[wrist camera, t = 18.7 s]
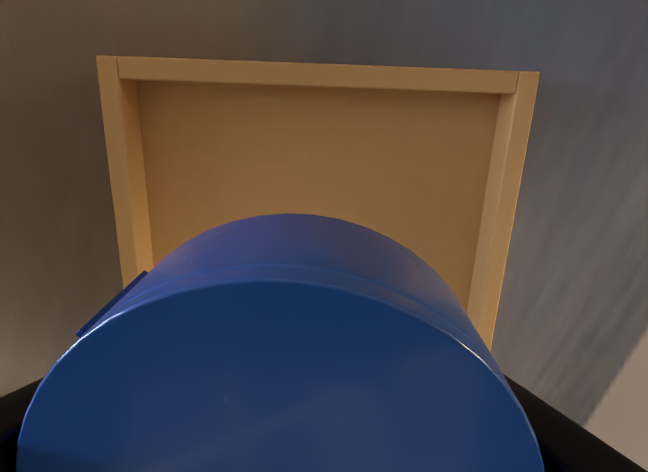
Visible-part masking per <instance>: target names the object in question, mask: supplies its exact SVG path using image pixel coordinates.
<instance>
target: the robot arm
mask: <svg viewBox="0 0 648 472" xmlns="http://www.w3.org/2000/svg"><path fill="white" fill-rule="evenodd" d="M502 374H503V373H502ZM503 375H504V374H503ZM504 377H505V379H506V380H507V382H508V384H509V385H510V388H511V389H512V391H513V392H514V394H515V395H516V397H517V399H518V401H519V402H520V404H521V406H522V407H523V409H524V411H525V413H526V416H527V418H528V420H529V422H530V424H531V426H532V428H533V430H534V433H535V435H536V437H537V441H538V445H539V448H540V452H541V456H542V459H543V463H544V471H545V472H648V471H646V470H645V469H643V468H641V467H640V466H638V465H637V464H636V463H634V462H633V461H631V460H630V459H628V458H627V457H625V456H624V455H622V454H621V453H619V452H618V451H616V450H615V449H614V448H612V447H610V446H609V445H608V444H606V443H605V442H603V441H602V440H600V439H599V438H597V437H596V436H594V435H593V434H591V433H590V432H588V431H587V430H585V429H584V428H582V427H581V426H579V425H578V424H577V423H575V422H574V421H572V420H571V419H569V418H568V417H566V416H565V415H563V414H562V413H560V412H559V411H557V410H556V409H554V408H553V407H551V406H550V405H548V404H547V403H545V402H544V401H542V400H541V399H540V398H538V397H537V396H535V395H534V394H532V393H531V392H529V391H528V390H526V389H525V388H523V387H522V386H520V385H519V384H517V383H516V382H514V381H513V380H511V379H510V378H508V377H507V376H506V375H504ZM43 379H44V378H41V379H39V380H37V381H35V382H33V383H31V384H29V385H27V386H24V387H22V388H20V389H18V390H16V391H14V392H12V393H9V394H7V395H5V396H3V397H1V398H0V472H16V470H15V464H16V454H17V443H18V438H19V434H20V431H21V427H22V424H23V420H24V417H25V413H26V410H27V408H28V406H29V404H30V402H31V400H32V398H33V396H34V394H35V392H36V390H37V388H38V386H39V384H40V383H41V381H42V380H43Z"/></svg>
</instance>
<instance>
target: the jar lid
mask: <svg viewBox="0 0 648 472" xmlns="http://www.w3.org/2000/svg"><path fill="white" fill-rule="evenodd" d="M76 335H77V336H78V337H79V339H78V340H77V341H76V342H75V343H74V344H73V345H72V346H71V347H70V348H69V349H68V350H67V351H66V352H65V353H64V354H63V355H62V356H61V357H60V358H59V359H58V360H57V361H56V362H55V363H54V365H53V366H52V368H51V369H50V370H49V372H48V373H47V374H46V376H45V377H44V379H43V380H42V381H41V383H40V384H39V386H38V388H37V390H36V392H35V394H34V396H33V398H32V400H31V402H30V404H29V406H28V408H27V410H26V413H25V417H24V420H23V424H22V427H21V431H20V434H19V438H18V443H17V454H16V464H15V470H16V472H545V471H544V463H543V459H542V456H541V452H540V448H539V445H538V441H537V437H536V435H535V433H534V430H533V428H532V426H531V424H530V422H529V420H528V418H527V416H526V413H525V411H524V409H523V407H522V406H521V404H520V402H519V401H518V399H517V397H516V395H515V394H514V392H513V391H512V389H511V388H510V385H509V384H508V382H507V380H506V379H505V377H504V375H503V374H502V372H501V370H500V368H499V367H498V365H497V363H496V362H495V360H494V358H493V357H492V355H491V353H490V352H489V350H488V348H487V347H486V345H485V343H484V341H483V340H482V338H481V336H480V335H479V333H478V331H477V330H476V328H475V326H474V325H473V323H472V321H471V320H470V318H469V316H468V314H467V313H466V311H465V309H464V308H463V306H462V304H461V303H460V302H459V300H458V299H457V297H456V296H455V294H454V293H453V291H452V290H451V288H450V287H449V285H448V284H447V283H446V282H445V281H444V280H443V279H442V278H441V277H440V276H439V275H438V273H437V272H436V271H435V270H434V269H433V268H432V267H431V266H430V265H428V264H427V263H426V262H425V261H423V260H422V259H421V258H420V257H419V256H417V255H416V254H415V253H414V252H412V251H411V250H409V249H408V248H406V247H404V246H403V245H401V244H400V243H398V242H396V241H395V240H393V239H391V238H390V237H387V236H385V235H383V234H381V233H378V232H376V231H374V230H372V229H370V228H367V227H365V226H361V225H358V224H355V223H351V222H348V221H345V220H342V219H337V218H331V217H325V216H319V215H313V214H290V213H284V214H272V215H260V216H255V217H250V218H245V219H241V220H236V221H232V222H229V223H226V224H224V225H221V226H218V227H215V228H213V229H210V230H207V231H205V232H203V233H202V234H200V235H198V236H196V237H194V238H192V239H190V240H188V241H186V242H185V243H183V244H182V245H181V246H179V247H178V248H176V249H175V250H174V251H172V252H171V253H170V254H168V255H167V256H165V257H164V258H163V259H162V260H161V261H160V262H159V263H158V264H157V265H156V266H155V267H154V268H153V269H152V270H151V271H150V272H149V273H148V272H147V271H145V270H144V271H143V272H142V273H141V274H140V275H138V276H137V277H136V278H135V279H134V280H133V281H132V282H131V283H130V284H129V285H127V286H126V287H125V288H124V289H123V290H122V291H121V292H120V293H119V294H118V295H117V296H115V297H114V298H113V299H112V300H111V301H110V302H109V303H108V304H107V305H106V306H105V307H103V308H102V309H101V310H100V311H99V312H98V313H97V314H96V315H95V316H94V317H92V318H91V319H90V320H89V321H88V322H87V323H86V324H85V325H84V326H83V327H82V328H80V329H79V331H78V332H77V333H76Z"/></svg>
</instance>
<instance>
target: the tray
mask: <svg viewBox="0 0 648 472" xmlns="http://www.w3.org/2000/svg"><path fill="white" fill-rule="evenodd" d="M96 65H97V74H98V82H99V90H100V99H101V107H102V115H103V124H104V132H105V140H106V149H107V157H108V165H109V174H110V182H111V191H112V199H113V207H114V216H115V224H116V232H117V241H118V249H119V257H120V266H121V274H122V282H123V289H124V288H125V287H126V286H127V285H129V284H130V283H131V282H132V281H133V280H134V279H135V278H136V277H137V276H138V275H140V274H141V273H142V272H143V271H144V270H145V271H147V272H148V273H149V272H150V271H151V270H152V269H153V268H154V267H155V266H156V265H157V264H158V263H159V262H160V261H161V260H162V259H163V258H164V257H165V256H167V255H168V254H170V253H171V252H172V251H174V250H175V249H176V248H178V247H179V246H181V245H182V244H183V243H185V242H186V241H188V240H190V239H192V238H194V237H196V236H198V235H200V234H202V233H203V232H205V231H207V230H210V229H213V228H215V227H218V226H221V225H224V224H226V223H229V222H232V221H236V220H241V219H245V218H250V217H255V216H260V215H272V214H284V213H290V214H313V215H319V216H325V217H331V218H337V219H342V220H345V221H348V222H351V223H355V224H358V225H361V226H365V227H367V228H370V229H372V230H374V231H376V232H378V233H381V234H383V235H385V236H387V237H390V238H391V239H393V240H395V241H396V242H398V243H400V244H401V245H403V246H404V247H406V248H408V249H409V250H411V251H412V252H414V253H415V254H416V255H417V256H419V257H420V258H421V259H422V260H423V261H425V262H426V263H427V264H428V265H430V266H431V267H432V268H433V269H434V270H435V271H436V272H437V273H438V275H439V276H440V277H441V278H442V279H443V280H444V281H445V282H446V283H447V284H448V285H449V287H450V288H451V290H452V291H453V293H454V294H455V296H456V297H457V299H458V300H459V302H460V303H461V304H462V306H463V308H464V309H465V311H466V313H467V314H468V316H469V318H470V320H471V321H472V323H473V325H474V326H475V328H476V330H477V331H478V333H479V335H480V336H481V338H482V340H483V341H484V343H485V345H486V347H487V348H488V350H489V352H490V349H491V343H492V338H493V332H494V327H495V321H496V316H497V310H498V305H499V299H500V294H501V288H502V283H503V277H504V272H505V266H506V260H507V255H508V249H509V244H510V238H511V233H512V227H513V222H514V216H515V211H516V205H517V200H518V194H519V189H520V183H521V177H522V172H523V166H524V161H525V155H526V150H527V144H528V139H529V133H530V128H531V122H532V117H533V111H534V106H535V100H536V94H537V89H538V83H539V78H540V73H539V72H533V71H507V70H480V69H454V68H427V67H400V66H374V65H347V64H320V63H294V62H267V61H240V60H213V59H187V58H160V57H133V56H106V55H97V56H96Z"/></svg>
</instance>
